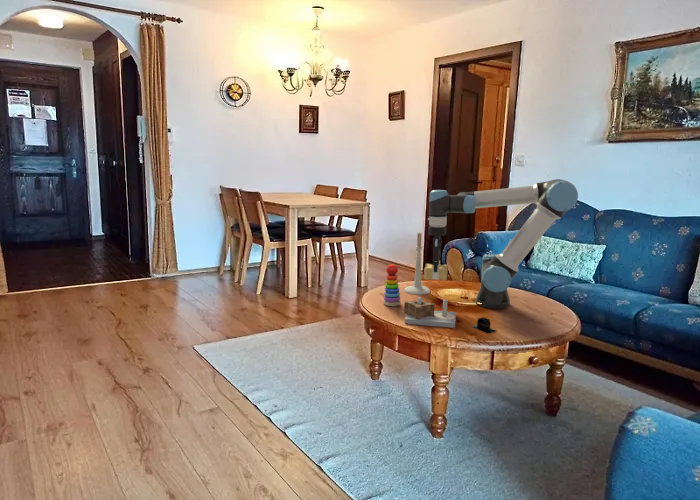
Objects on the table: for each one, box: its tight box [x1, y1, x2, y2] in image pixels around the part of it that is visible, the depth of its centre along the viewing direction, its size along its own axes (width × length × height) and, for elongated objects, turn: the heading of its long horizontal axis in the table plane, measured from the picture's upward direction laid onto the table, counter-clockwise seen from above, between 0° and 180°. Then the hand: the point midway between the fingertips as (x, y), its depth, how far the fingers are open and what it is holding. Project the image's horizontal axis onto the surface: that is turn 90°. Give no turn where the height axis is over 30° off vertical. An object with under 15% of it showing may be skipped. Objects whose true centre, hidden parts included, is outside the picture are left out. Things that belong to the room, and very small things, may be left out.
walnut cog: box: [403, 298, 436, 319], centre depth 209 cm, size 10×10×5 cm
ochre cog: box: [423, 263, 449, 282], centre depth 221 cm, size 10×10×5 cm
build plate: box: [470, 316, 497, 334], centre depth 199 cm, size 12×7×5 cm, turn 33°
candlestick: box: [404, 232, 431, 296], centre depth 248 cm, size 13×13×30 cm
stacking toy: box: [383, 263, 402, 307], centre depth 227 cm, size 8×8×19 cm
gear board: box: [404, 296, 457, 329], centre depth 208 cm, size 20×14×9 cm
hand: (436, 276), depth 222 cm, fingers closed on ochre cog, 8 cm apart
